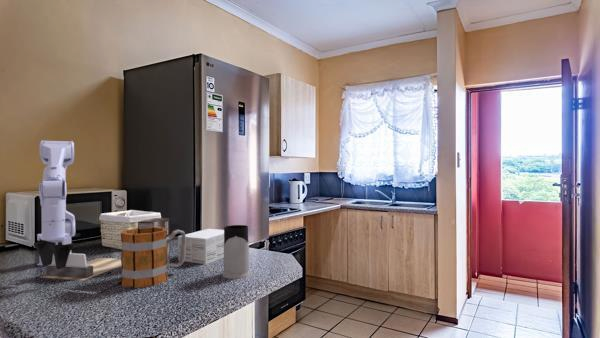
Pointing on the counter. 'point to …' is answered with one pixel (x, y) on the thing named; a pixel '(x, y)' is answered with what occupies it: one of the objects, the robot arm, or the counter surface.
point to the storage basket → (121, 225)
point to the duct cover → (74, 261)
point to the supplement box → (203, 246)
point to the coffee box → (158, 223)
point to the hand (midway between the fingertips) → (54, 266)
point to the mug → (147, 256)
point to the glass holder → (236, 252)
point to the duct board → (83, 269)
